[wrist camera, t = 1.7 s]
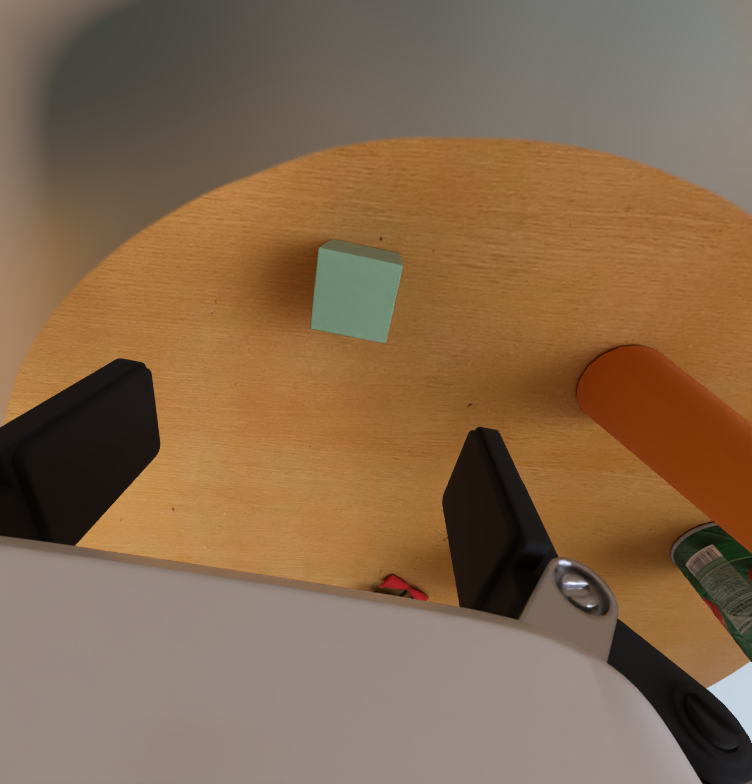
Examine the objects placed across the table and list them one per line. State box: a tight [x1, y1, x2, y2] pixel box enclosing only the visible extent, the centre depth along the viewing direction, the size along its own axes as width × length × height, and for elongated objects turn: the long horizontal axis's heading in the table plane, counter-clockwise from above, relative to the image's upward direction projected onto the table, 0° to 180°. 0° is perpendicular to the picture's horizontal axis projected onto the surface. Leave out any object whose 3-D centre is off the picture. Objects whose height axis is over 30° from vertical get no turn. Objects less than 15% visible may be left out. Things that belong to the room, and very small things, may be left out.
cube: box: [310, 239, 403, 343], centre depth 24 cm, size 5×5×5 cm
